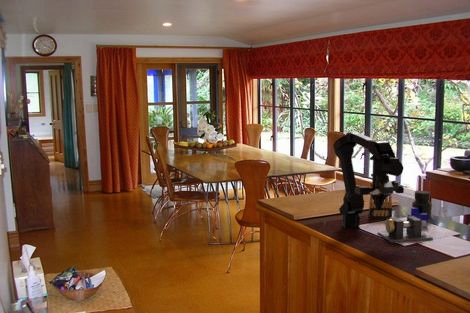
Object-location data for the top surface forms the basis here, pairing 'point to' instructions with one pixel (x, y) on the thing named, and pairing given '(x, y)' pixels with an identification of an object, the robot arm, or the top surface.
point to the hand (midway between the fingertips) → (378, 210)
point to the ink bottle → (423, 202)
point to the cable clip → (416, 214)
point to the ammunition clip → (385, 209)
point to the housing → (406, 231)
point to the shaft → (391, 227)
